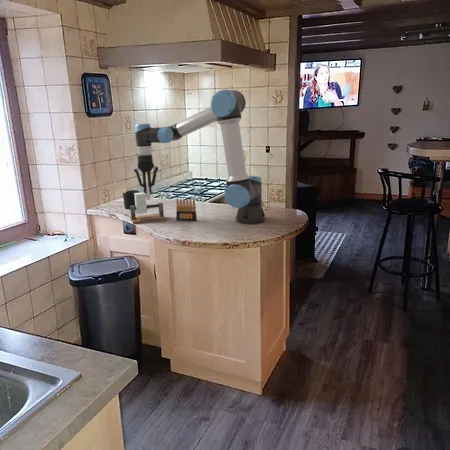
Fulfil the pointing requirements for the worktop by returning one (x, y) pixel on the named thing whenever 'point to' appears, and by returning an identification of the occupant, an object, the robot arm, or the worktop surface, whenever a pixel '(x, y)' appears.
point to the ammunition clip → (186, 210)
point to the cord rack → (147, 217)
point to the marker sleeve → (140, 202)
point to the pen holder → (129, 198)
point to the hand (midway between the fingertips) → (148, 199)
